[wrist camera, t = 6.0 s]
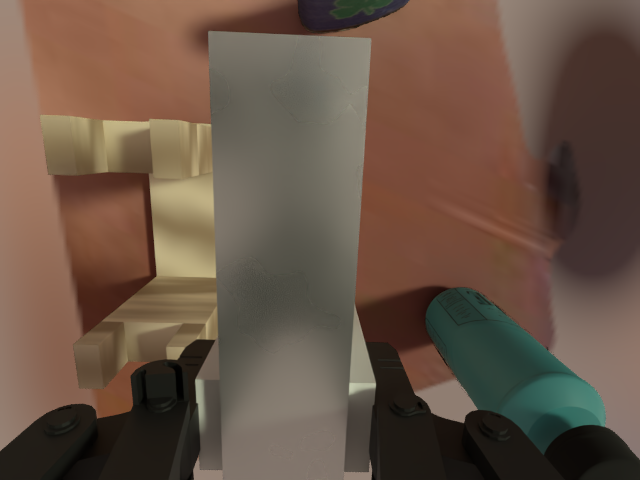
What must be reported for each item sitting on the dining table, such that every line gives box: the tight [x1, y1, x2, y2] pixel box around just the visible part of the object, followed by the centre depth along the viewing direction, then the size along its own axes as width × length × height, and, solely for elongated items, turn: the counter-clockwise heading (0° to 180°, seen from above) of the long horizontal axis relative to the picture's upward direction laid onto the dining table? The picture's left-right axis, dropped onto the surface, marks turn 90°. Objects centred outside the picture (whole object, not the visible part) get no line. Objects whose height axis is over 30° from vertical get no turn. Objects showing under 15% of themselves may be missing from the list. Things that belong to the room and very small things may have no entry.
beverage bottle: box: [425, 287, 640, 480], centre depth 26 cm, size 6×7×20 cm
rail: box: [208, 31, 371, 480], centre depth 10 cm, size 18×3×3 cm, turn 178°
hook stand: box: [40, 115, 218, 389], centre depth 27 cm, size 17×7×13 cm, turn 178°
